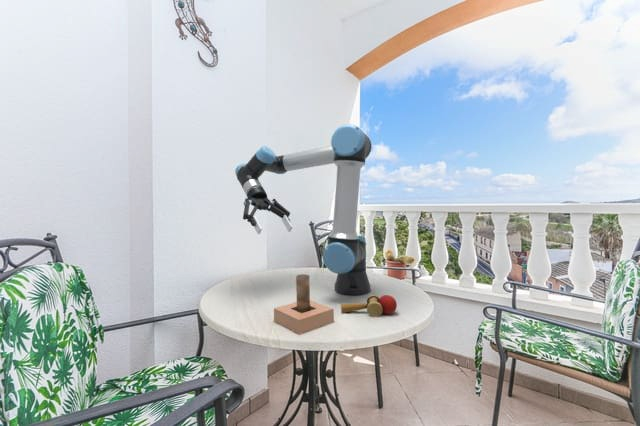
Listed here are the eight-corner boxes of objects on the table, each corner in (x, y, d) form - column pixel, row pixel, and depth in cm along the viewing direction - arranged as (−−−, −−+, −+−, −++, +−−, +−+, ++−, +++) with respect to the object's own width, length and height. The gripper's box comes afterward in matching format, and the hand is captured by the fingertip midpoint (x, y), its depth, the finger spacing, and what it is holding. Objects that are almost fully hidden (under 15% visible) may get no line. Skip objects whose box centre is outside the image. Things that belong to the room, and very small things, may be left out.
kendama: (342, 321, 91) (399, 315, 90) (339, 301, 93) (396, 294, 91) (343, 317, 99) (396, 311, 97) (340, 298, 100) (393, 291, 98)
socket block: (307, 311, 98) (306, 299, 98) (333, 321, 88) (333, 308, 88) (274, 321, 89) (273, 308, 89) (299, 334, 79) (299, 319, 79)
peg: (304, 318, 91) (303, 273, 91) (312, 321, 88) (312, 275, 88) (294, 321, 89) (293, 275, 89) (302, 325, 86) (301, 278, 86)
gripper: (277, 199, 130) (298, 234, 119) (223, 198, 113) (242, 239, 102) (283, 186, 126) (306, 222, 115) (229, 184, 109) (249, 225, 98)
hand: (276, 230), depth 109 cm, fingers open, 13 cm apart
